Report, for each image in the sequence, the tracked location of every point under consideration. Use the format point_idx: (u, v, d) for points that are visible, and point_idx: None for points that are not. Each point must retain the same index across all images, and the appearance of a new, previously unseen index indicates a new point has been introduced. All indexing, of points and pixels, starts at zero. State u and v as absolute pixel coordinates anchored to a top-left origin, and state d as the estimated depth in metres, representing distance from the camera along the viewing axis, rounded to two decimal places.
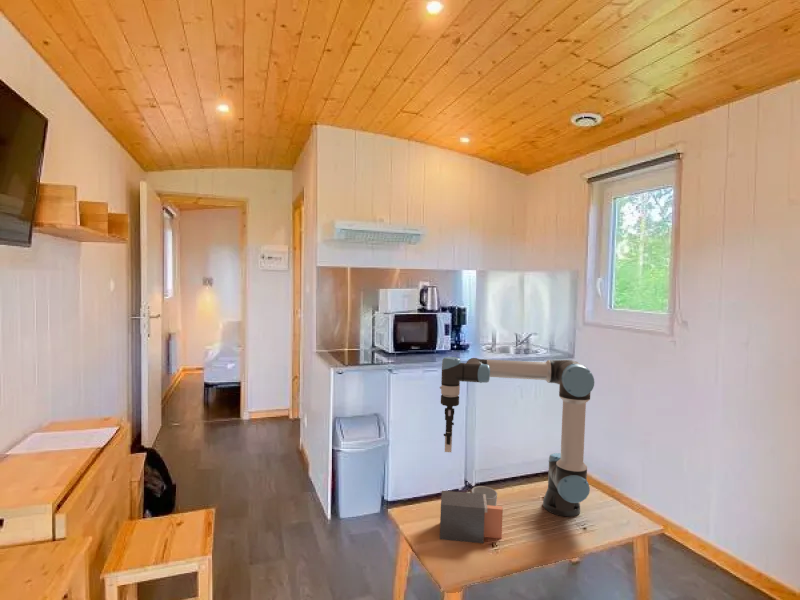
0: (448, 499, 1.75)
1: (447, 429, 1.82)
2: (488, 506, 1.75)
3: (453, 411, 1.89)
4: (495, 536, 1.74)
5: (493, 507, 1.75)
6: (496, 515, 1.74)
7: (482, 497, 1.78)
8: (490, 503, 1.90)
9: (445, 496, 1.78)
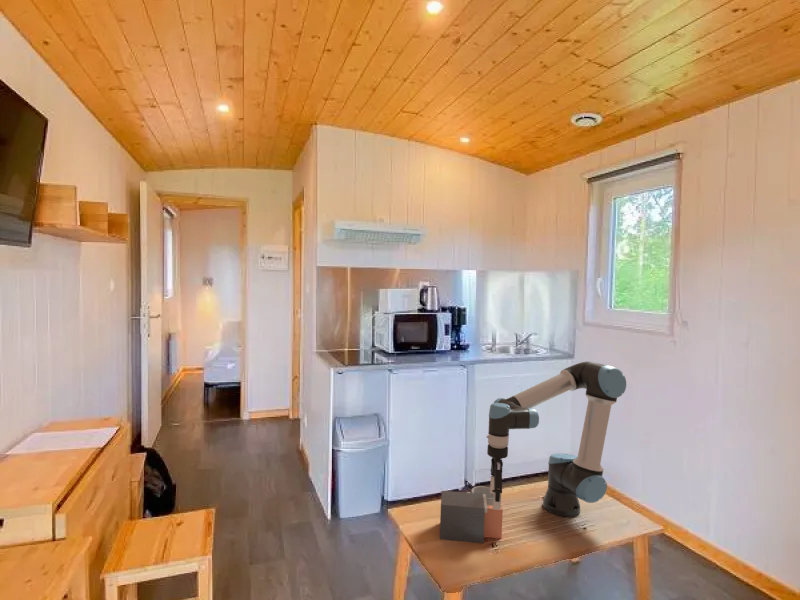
0: (448, 499, 1.75)
1: (497, 485, 1.65)
2: (488, 506, 1.75)
3: (501, 463, 1.72)
4: (495, 536, 1.74)
5: None
6: (496, 515, 1.74)
7: (482, 497, 1.78)
8: (490, 503, 1.90)
9: (445, 496, 1.78)
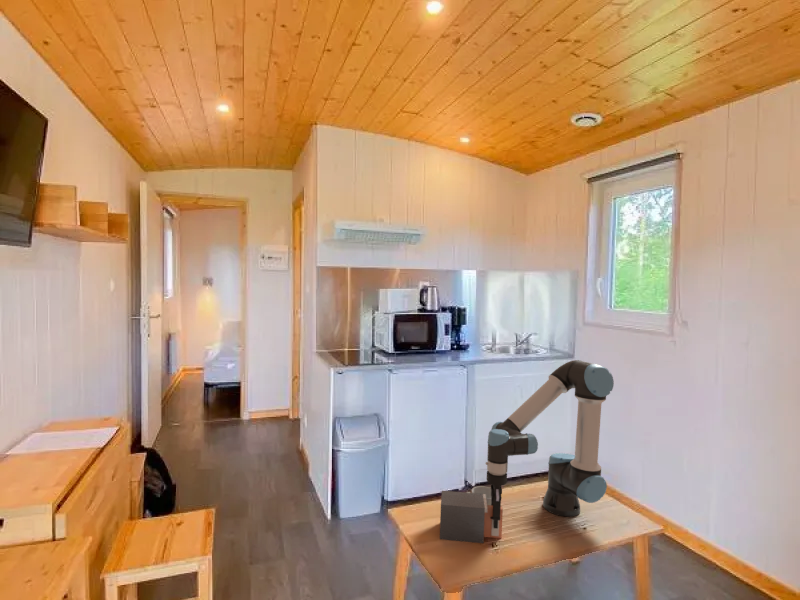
0: (448, 499, 1.75)
1: (495, 514, 1.70)
2: (488, 506, 1.75)
3: (501, 491, 1.72)
4: (495, 536, 1.74)
5: None
6: None
7: (482, 497, 1.78)
8: (490, 503, 1.90)
9: (445, 496, 1.78)
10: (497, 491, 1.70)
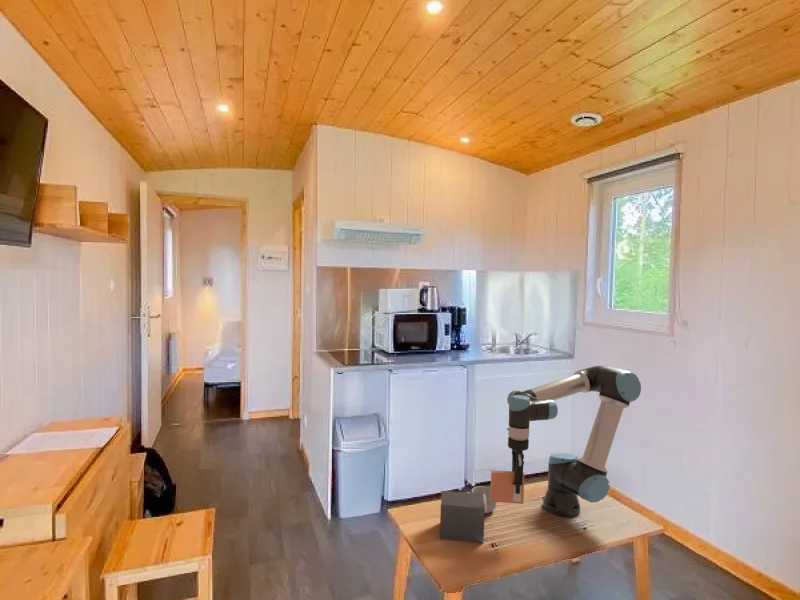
0: (448, 499, 1.75)
1: (517, 479, 1.69)
2: (509, 472, 1.75)
3: (523, 456, 1.72)
4: (517, 502, 1.73)
5: (514, 473, 1.74)
6: None
7: (482, 497, 1.78)
8: (490, 503, 1.90)
9: (445, 496, 1.78)
10: (519, 456, 1.70)
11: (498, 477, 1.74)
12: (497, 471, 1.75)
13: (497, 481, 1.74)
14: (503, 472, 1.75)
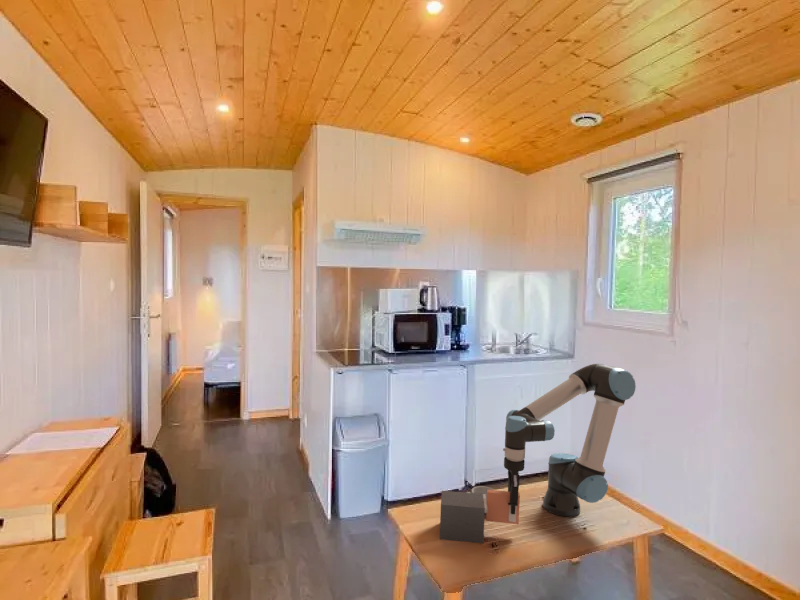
0: (448, 499, 1.75)
1: (513, 500, 1.71)
2: (505, 492, 1.76)
3: (518, 477, 1.73)
4: (512, 522, 1.75)
5: None
6: None
7: (482, 497, 1.78)
8: None
9: (445, 496, 1.78)
10: (515, 477, 1.72)
11: (494, 497, 1.75)
12: (493, 491, 1.77)
13: (492, 500, 1.75)
14: (499, 492, 1.76)
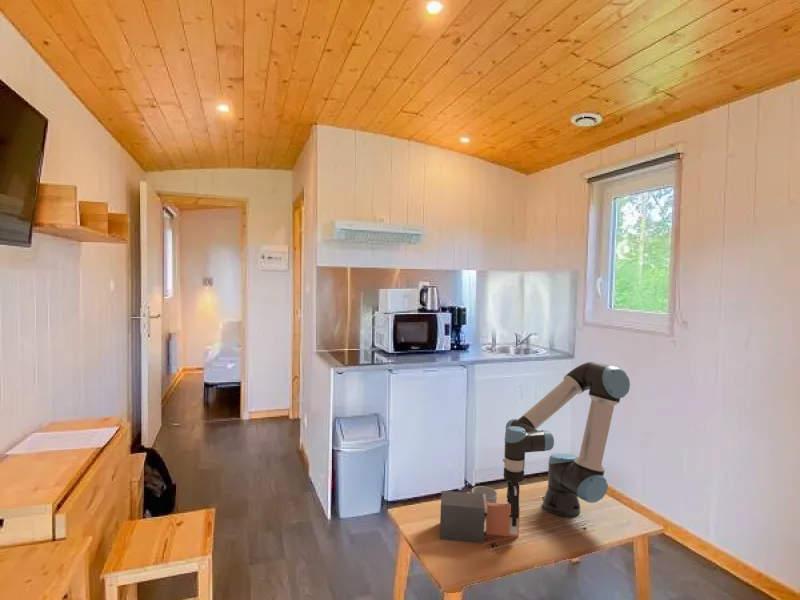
0: (448, 499, 1.75)
1: (514, 511, 1.68)
2: (505, 505, 1.77)
3: (518, 487, 1.74)
4: (512, 535, 1.75)
5: (510, 506, 1.76)
6: None
7: (482, 497, 1.78)
8: None
9: (445, 496, 1.78)
10: (514, 487, 1.72)
11: (494, 510, 1.76)
12: (493, 504, 1.77)
13: (492, 513, 1.76)
14: (499, 505, 1.77)
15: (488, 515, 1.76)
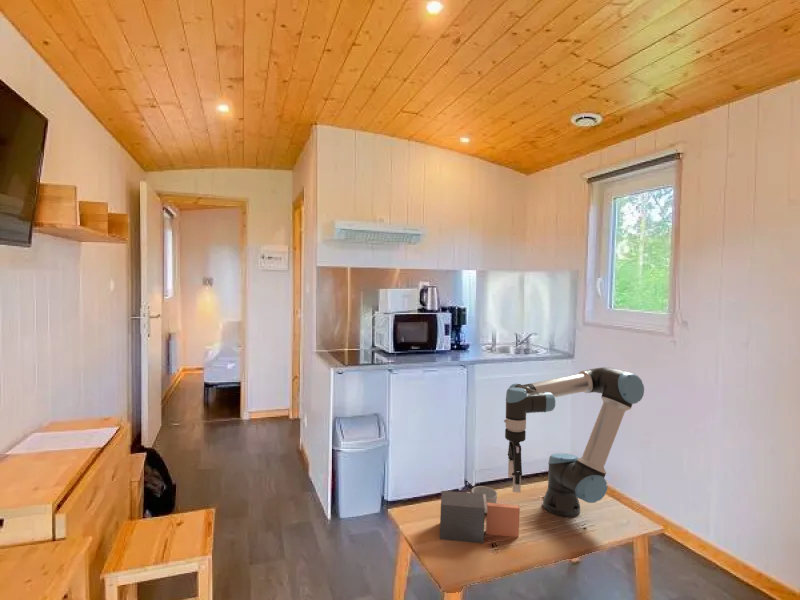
0: (448, 499, 1.75)
1: (516, 468, 1.67)
2: (505, 505, 1.77)
3: (520, 447, 1.74)
4: (512, 535, 1.75)
5: (510, 506, 1.76)
6: (513, 514, 1.75)
7: (482, 497, 1.78)
8: None
9: (445, 496, 1.78)
10: (516, 446, 1.72)
11: (494, 511, 1.76)
12: (493, 504, 1.77)
13: (492, 514, 1.76)
14: (499, 505, 1.77)
15: (488, 515, 1.76)
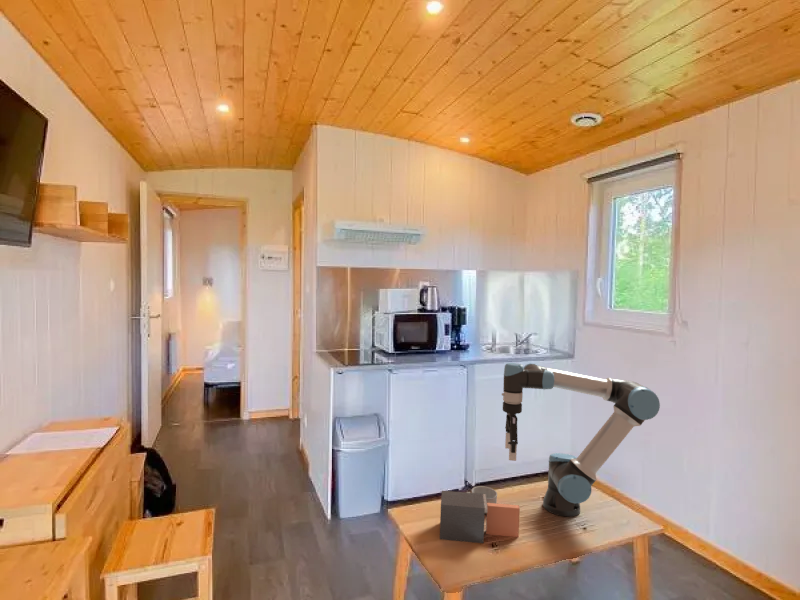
0: (448, 499, 1.75)
1: (512, 437, 1.78)
2: (505, 505, 1.77)
3: (516, 418, 1.85)
4: (512, 535, 1.75)
5: (510, 506, 1.76)
6: (513, 514, 1.75)
7: (482, 497, 1.78)
8: None
9: (445, 496, 1.78)
10: (513, 417, 1.83)
11: (494, 511, 1.76)
12: (493, 504, 1.77)
13: (492, 514, 1.76)
14: (499, 505, 1.77)
15: (488, 515, 1.76)
